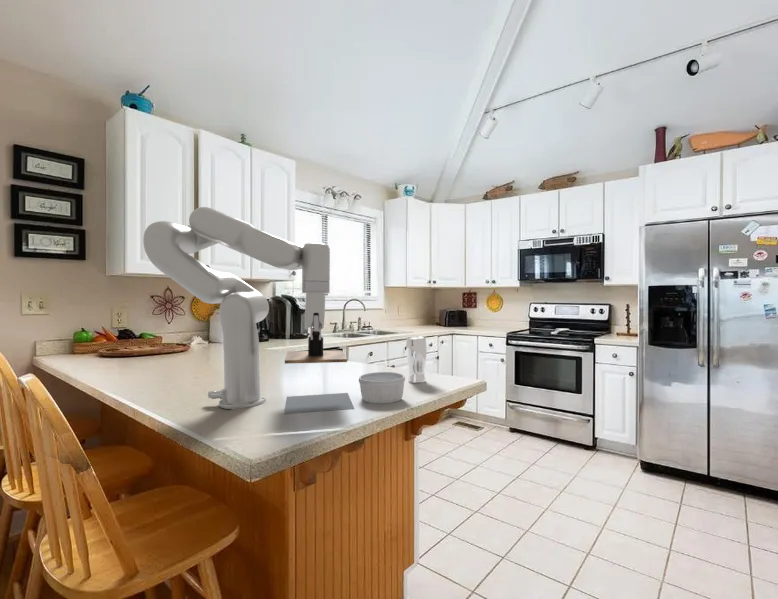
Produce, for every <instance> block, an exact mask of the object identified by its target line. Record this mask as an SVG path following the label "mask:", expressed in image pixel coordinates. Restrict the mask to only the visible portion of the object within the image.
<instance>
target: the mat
mask: <svg viewBox="0 0 778 599" xmlns="http://www.w3.org/2000/svg"><path fill="white" fill-rule="evenodd" d="M346 410H348V411H349V410H355V406H354V405H353V402H352V400H351V397H350V396H349V392H340V393H339V392H338V393H337V392H336V393H326V394H325V393H323V394H310V395H309V394H308V395H293V396H292V395H291V396H289V395H288V396H286V400H285V404H284V412H283V415H291V414H304V413H307V414H308V413H319V412H332V411H333V412H335V411H346Z"/></svg>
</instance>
